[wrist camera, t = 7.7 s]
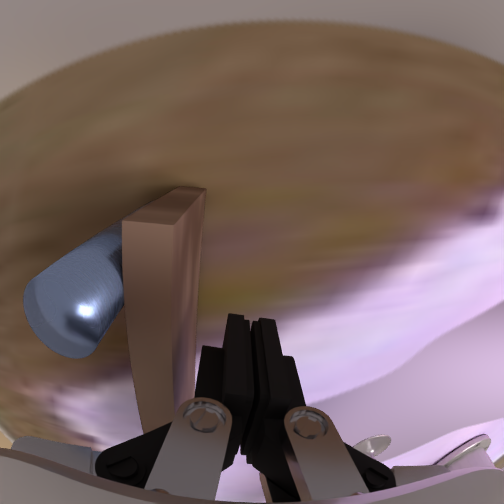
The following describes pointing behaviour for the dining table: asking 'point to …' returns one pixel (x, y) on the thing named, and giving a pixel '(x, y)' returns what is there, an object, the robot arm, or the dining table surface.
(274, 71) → the dining table surface
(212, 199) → the dining table surface
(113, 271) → the grey upright cylinders
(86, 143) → the dining table surface
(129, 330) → the gate
